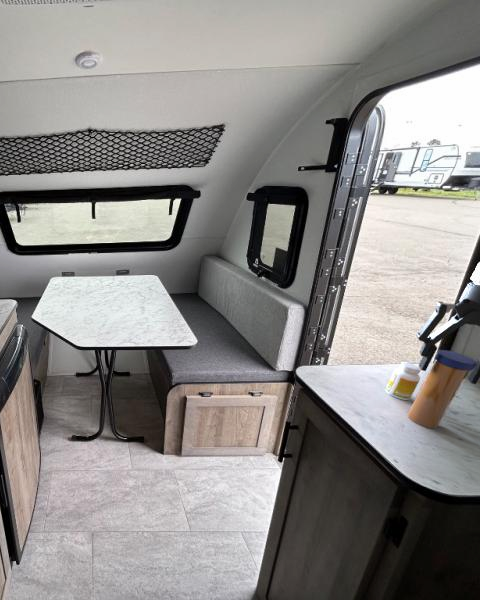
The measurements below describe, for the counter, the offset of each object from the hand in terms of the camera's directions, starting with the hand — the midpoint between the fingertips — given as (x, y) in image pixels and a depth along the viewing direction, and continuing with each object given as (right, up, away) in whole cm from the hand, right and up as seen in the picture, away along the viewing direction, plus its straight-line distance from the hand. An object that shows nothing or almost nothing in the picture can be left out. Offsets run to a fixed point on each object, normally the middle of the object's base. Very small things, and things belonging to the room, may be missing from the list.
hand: (445, 374), depth 78 cm
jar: (-1, -13, +5) cm, 14 cm away
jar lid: (0, +4, -2) cm, 5 cm away
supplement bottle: (+3, -10, +15) cm, 18 cm away
